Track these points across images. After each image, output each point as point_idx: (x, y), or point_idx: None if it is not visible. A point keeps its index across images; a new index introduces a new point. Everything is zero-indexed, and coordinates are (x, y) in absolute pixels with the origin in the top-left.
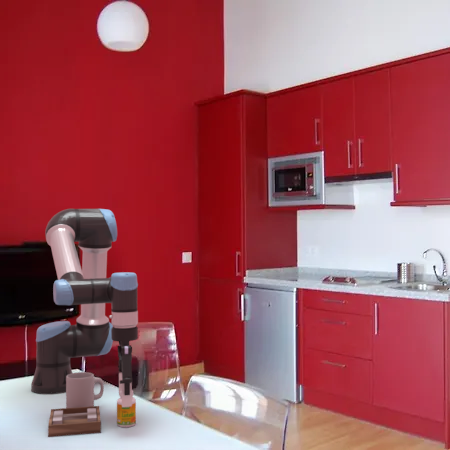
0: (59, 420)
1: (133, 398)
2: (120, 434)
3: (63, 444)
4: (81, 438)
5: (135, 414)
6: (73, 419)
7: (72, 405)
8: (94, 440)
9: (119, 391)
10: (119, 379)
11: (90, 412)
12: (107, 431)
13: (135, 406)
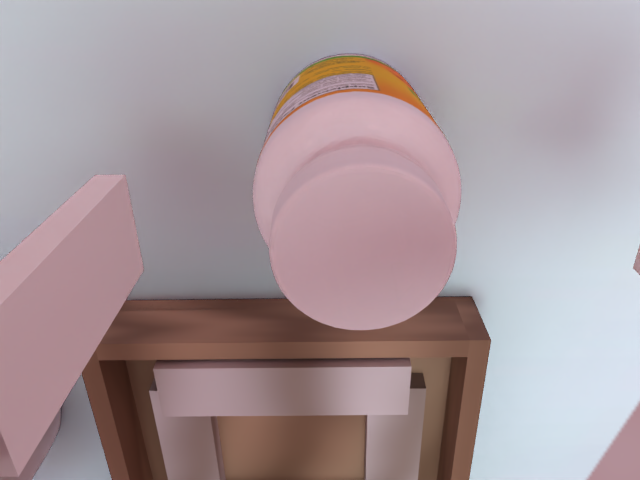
0: None
1: (386, 133)
2: (557, 180)
3: (588, 454)
4: (531, 387)
5: (383, 72)
6: (220, 438)
7: (32, 477)
8: (600, 328)
9: (353, 329)
10: (68, 386)
11: (267, 400)
12: (458, 258)
13: (389, 88)
